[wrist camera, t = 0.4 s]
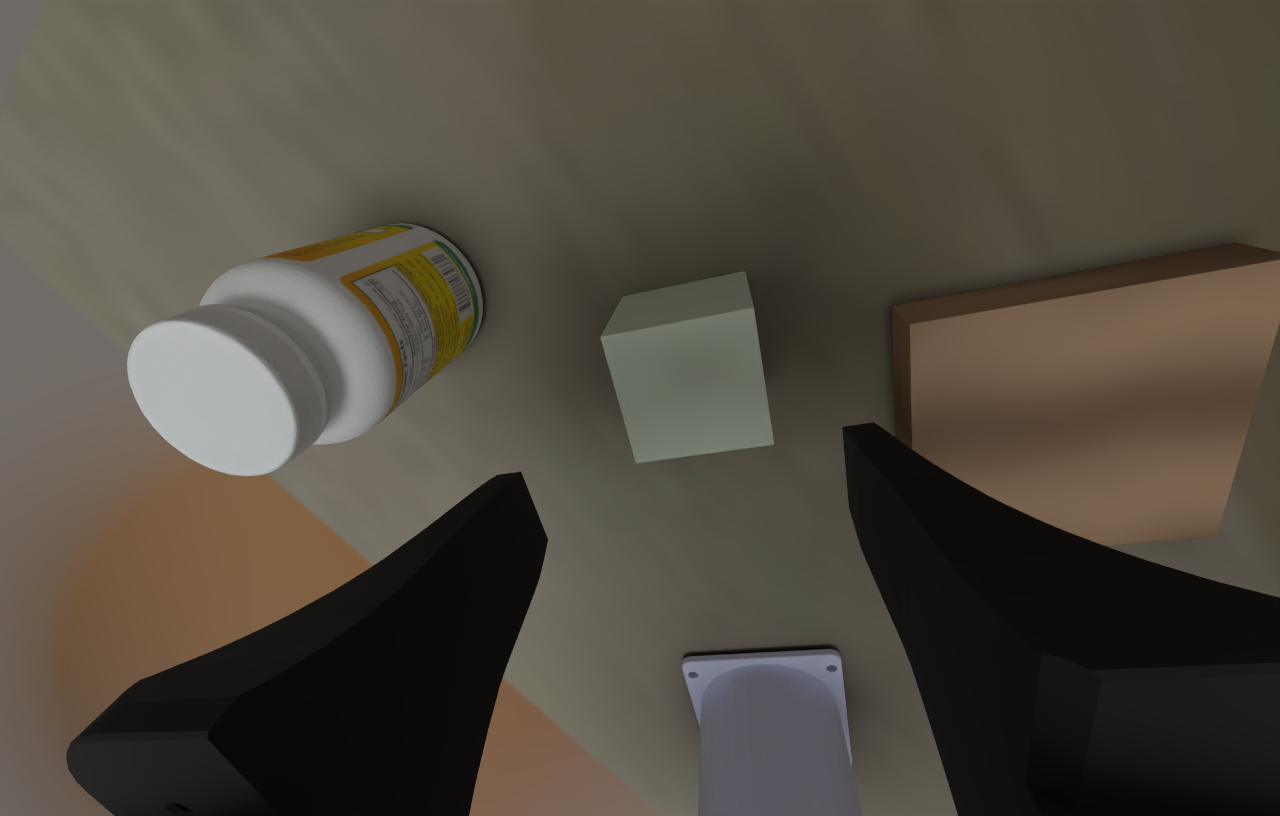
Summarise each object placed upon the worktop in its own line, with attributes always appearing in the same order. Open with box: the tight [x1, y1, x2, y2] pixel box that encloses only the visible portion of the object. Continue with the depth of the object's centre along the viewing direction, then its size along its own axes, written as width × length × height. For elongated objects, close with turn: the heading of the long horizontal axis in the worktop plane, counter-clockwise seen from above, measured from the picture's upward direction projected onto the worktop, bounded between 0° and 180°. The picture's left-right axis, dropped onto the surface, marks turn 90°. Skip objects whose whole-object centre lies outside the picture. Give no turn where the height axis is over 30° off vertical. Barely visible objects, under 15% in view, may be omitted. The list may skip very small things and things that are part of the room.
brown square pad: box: [891, 243, 1280, 546], centre depth 19 cm, size 10×10×2 cm
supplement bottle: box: [127, 223, 483, 476], centre depth 16 cm, size 5×5×10 cm
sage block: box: [600, 271, 774, 463], centre depth 18 cm, size 4×4×4 cm
